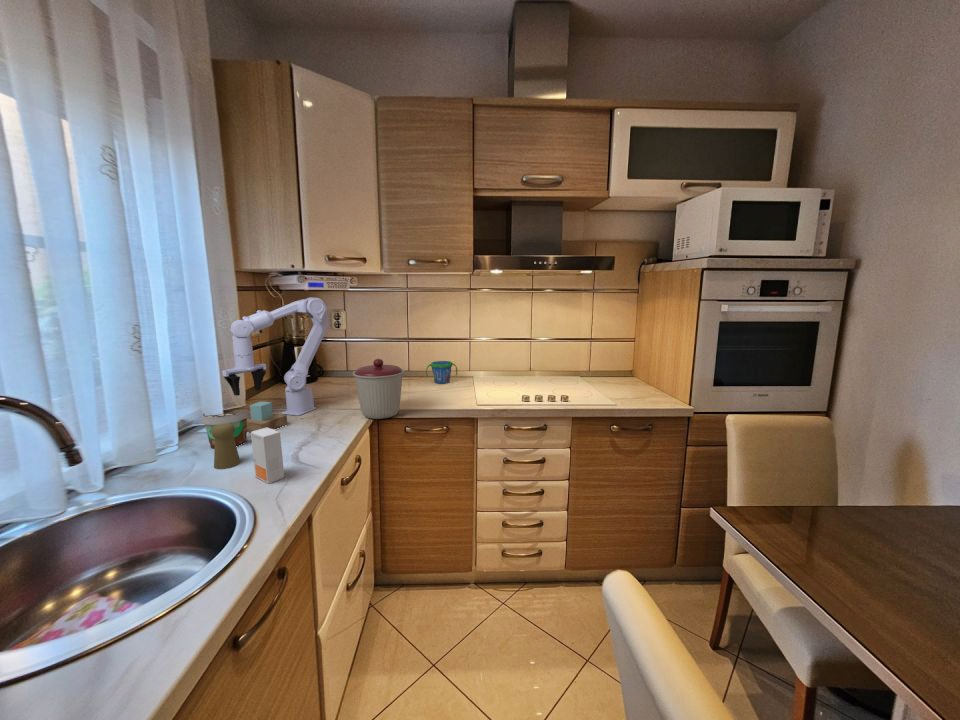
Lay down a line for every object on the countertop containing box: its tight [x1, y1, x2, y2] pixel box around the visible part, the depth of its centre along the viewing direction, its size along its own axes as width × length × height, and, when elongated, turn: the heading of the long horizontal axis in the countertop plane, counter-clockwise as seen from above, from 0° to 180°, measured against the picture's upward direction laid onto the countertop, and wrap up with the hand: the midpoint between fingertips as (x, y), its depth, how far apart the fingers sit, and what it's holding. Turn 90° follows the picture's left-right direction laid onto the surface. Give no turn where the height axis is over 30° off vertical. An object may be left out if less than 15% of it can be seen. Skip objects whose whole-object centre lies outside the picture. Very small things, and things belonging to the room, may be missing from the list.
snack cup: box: [425, 360, 458, 385], centre depth 197 cm, size 16×10×10 cm
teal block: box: [249, 401, 274, 421], centre depth 131 cm, size 4×4×5 cm
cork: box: [212, 423, 241, 470], centre depth 104 cm, size 6×6×11 cm
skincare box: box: [250, 428, 285, 485], centre depth 96 cm, size 6×4×12 cm
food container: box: [200, 409, 250, 450], centre depth 116 cm, size 12×6×10 cm, turn 105°
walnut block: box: [247, 413, 288, 434], centre depth 132 cm, size 10×10×4 cm
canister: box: [352, 358, 405, 420], centre depth 145 cm, size 18×18×21 cm
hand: (247, 392), depth 140 cm, fingers open, 7 cm apart
